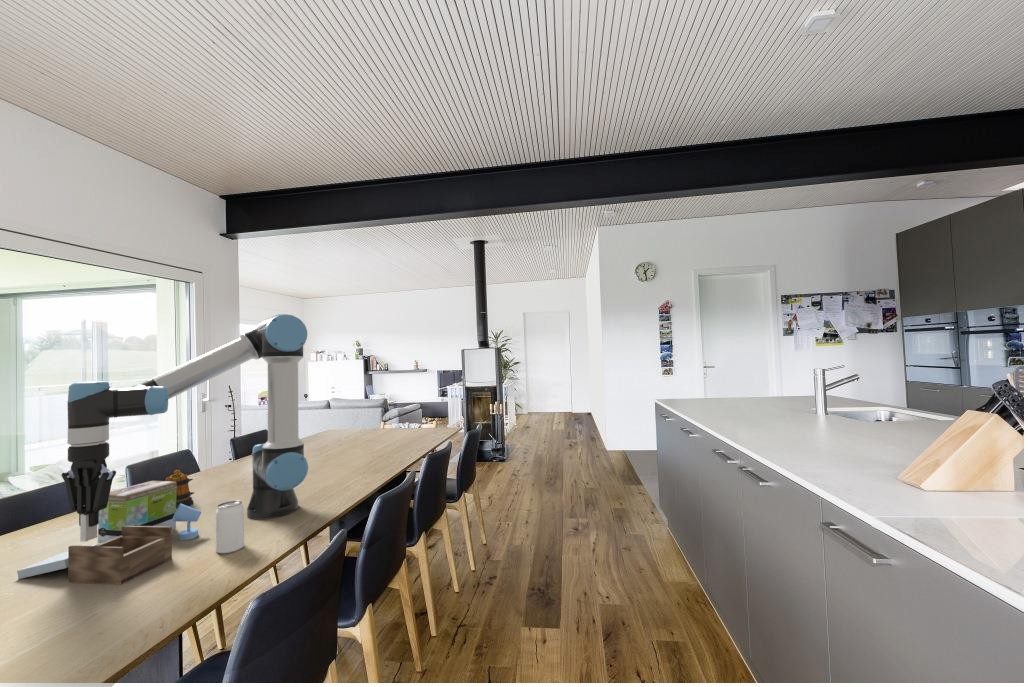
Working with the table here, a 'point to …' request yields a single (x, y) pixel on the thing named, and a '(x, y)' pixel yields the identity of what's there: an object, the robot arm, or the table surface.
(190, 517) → the spotlight
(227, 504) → the can
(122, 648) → the table surface
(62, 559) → the cover plate
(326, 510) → the table surface
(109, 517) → the tea box
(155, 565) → the walnut box
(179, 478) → the mug
